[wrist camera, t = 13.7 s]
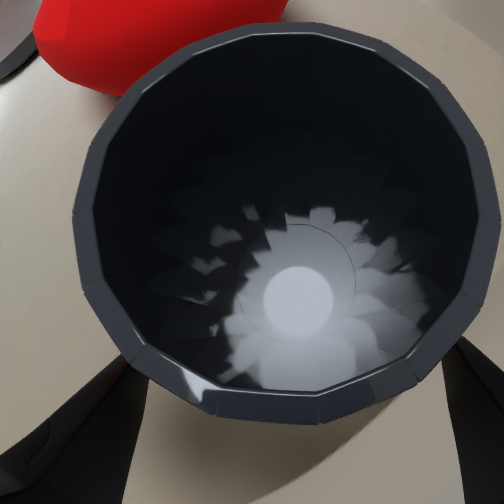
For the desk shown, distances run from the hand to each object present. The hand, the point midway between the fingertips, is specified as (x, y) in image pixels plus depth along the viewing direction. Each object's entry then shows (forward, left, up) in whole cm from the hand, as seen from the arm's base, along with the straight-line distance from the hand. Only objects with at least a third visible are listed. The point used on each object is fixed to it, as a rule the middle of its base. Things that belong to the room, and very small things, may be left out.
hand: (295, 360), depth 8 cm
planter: (+48, -5, -8) cm, 49 cm away
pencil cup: (+2, -2, -7) cm, 8 cm away
